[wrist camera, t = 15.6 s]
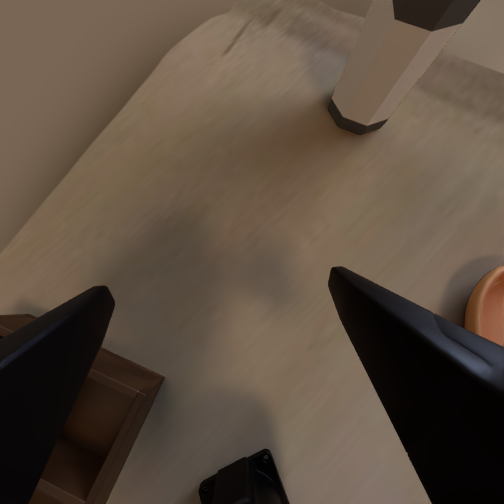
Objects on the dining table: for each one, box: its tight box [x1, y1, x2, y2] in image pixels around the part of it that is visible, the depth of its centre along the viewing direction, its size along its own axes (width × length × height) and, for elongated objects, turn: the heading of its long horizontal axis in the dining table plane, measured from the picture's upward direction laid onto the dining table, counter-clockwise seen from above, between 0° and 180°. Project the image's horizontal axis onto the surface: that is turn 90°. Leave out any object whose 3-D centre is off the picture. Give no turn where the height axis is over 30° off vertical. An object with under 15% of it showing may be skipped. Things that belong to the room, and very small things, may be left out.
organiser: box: [0, 314, 165, 504], centre depth 16 cm, size 15×15×4 cm
